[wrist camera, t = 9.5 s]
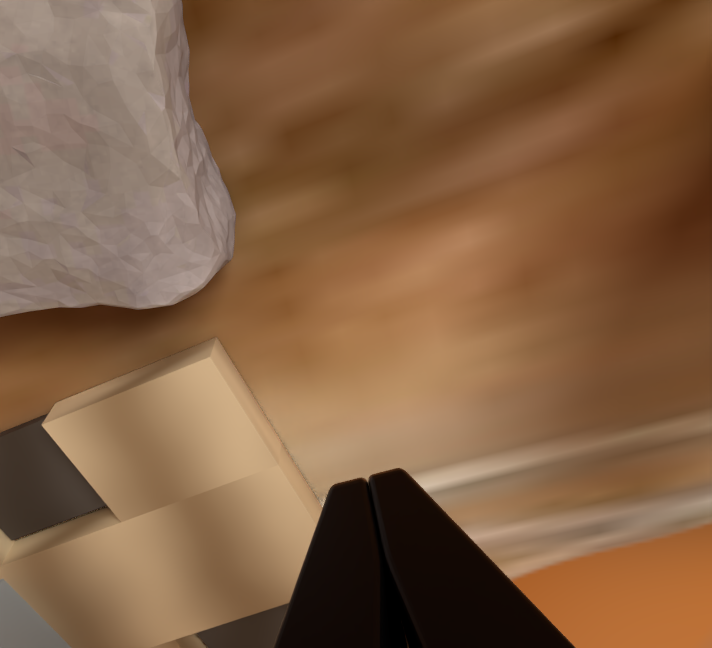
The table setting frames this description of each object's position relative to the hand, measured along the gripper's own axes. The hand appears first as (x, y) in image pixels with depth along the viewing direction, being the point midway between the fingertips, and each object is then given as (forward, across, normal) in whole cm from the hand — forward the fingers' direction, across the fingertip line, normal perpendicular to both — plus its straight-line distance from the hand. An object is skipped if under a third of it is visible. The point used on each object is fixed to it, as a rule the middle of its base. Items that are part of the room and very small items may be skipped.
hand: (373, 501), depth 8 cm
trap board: (+13, +12, +14) cm, 23 cm away
